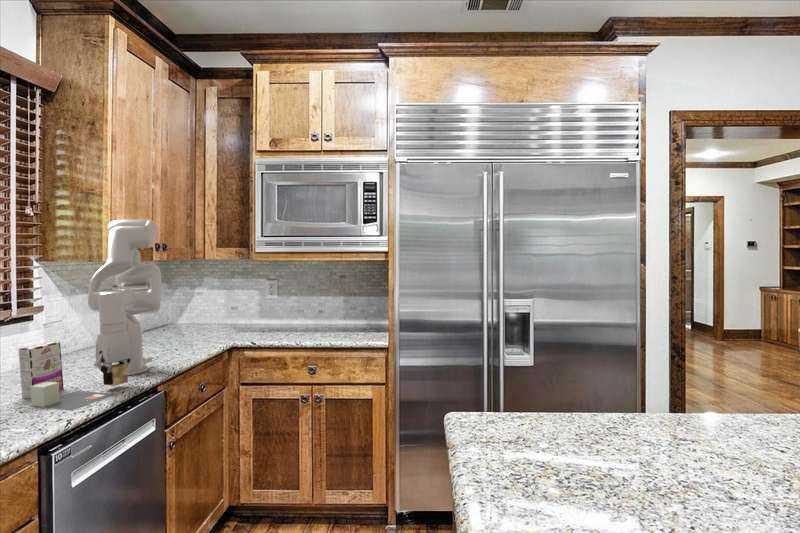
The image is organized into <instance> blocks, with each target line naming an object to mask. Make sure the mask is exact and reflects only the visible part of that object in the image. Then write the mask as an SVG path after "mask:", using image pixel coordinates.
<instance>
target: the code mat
mask: <svg viewBox="0 0 800 533" xmlns="http://www.w3.org/2000/svg"><path fill="white" fill-rule="evenodd" d="M94 394H95V395H94ZM116 395H118V393H109V392H98V391H97V392H96V391H85V390H74V391H72V392H69V393H65V394H63V395H60V402H57V403H54V404H51V405H48V406H45V407H40V406H32V404H31V405H30V407H33V408H44V409H52V410H61V411H62V410H63V411H74V410H76V409H79V408H82V407H86V406H88V405H91V404H94V403H97V402H100V401H102V400H105V399H108V398H110V397H114V396H116ZM87 400H88V401H87Z"/></svg>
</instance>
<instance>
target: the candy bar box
mask: <svg viewBox="0 0 800 533" xmlns="http://www.w3.org/2000/svg"><path fill="white" fill-rule="evenodd" d="M61 349H62V347H61V341H46V342H41V343H38V344H34V345H29V346H24V347H21V348H18V358H19V359H18V360H19V370H20V384H21V386H20V387H21V395H22V399H31V386H33V385H37V384H40V383H44V382H57V383H59V391H60V390H63V389H64V378H63V377H64V376H63V375H64V374H63V364H62V351H61Z"/></svg>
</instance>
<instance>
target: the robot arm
mask: <svg viewBox="0 0 800 533" xmlns="http://www.w3.org/2000/svg"><path fill="white" fill-rule="evenodd" d="M107 234H108V239H107V250H106V262H105V263H104V265H102V266H101V267H100V268H98V270H96V272H95V273H94V274H93V275H92V277H91V279H90V281H89V285H88V293H87V305H88V308H89V309H90V310H91V311H92V312H96V313H98V315H99V333H98V334H97V337H96V345H95V362H94V364H93V367H95V368H96V369H98V370H99V371H100V372H101V374H102V377H104V383H103V385H104V384H108V385H107V386H111V384H113V379H112V372H111V367H112V364H127V375H128V376H133V375H139V374H143V373H145V372H147V371H148V370H149V367H148V365H147V363H151V362H153V357H151V356H149V357H144V354H143V353H144V351H143V334H142V333H143V332H142V331H143V330H142V329H143V328H142V324H141V322H140V321H139V320H138V318H136V317H135V316H136V315H145V314H156V313H157V312H159V311H160V309H161V306H162V304H161V303H162V273H161V269H160V267H159V266H158V265H157V264H155V263H141V261H142V260H141V259H142V258H141V257H142V255H141V252H140V251H139V250H138V249H149V248H151V247H152V246H153V245H154V242H155V241H156V238H157V236H158V226H157V224H156V222H155V221H154V220H153V219H115V220H112V221H110V222H109V223H108V224H107ZM112 278H114V280H115V281H114V282H115V285H116V286H117V287H118V288H117V289H114V288H113V289H101V287H102V286H103V284H104V283H105V282H107V281H108V280H109V279H112ZM119 288H120V289H119ZM106 366H107V368H106Z"/></svg>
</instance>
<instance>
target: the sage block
mask: <svg viewBox="0 0 800 533" xmlns="http://www.w3.org/2000/svg"><path fill="white" fill-rule="evenodd" d="M60 393H61V392H60V390H59V383H57V382H44V383H40V384H37V385H33V386H31V398H30V399H31V405H32V406H40V407H39V408H42V407H45V406H48V405H51V404H54V403H57V402H60V396H61V395H60ZM32 406H31V407H32Z"/></svg>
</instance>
